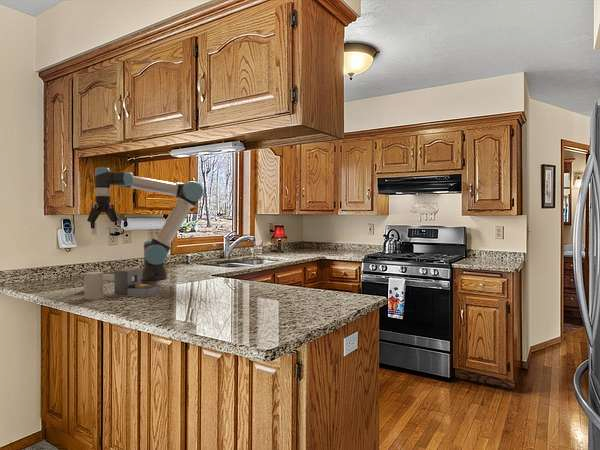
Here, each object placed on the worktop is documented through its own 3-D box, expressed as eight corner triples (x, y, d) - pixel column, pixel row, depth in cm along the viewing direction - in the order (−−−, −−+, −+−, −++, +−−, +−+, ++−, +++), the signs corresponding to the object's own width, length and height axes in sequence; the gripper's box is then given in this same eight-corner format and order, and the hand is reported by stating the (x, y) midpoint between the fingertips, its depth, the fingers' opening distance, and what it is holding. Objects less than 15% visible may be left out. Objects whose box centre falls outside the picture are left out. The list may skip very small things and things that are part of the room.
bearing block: (128, 290, 220) (128, 267, 220) (141, 291, 218) (141, 268, 217) (114, 294, 211) (114, 270, 210) (127, 295, 208) (127, 271, 208)
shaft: (90, 287, 224) (90, 270, 224) (136, 290, 215) (135, 273, 215) (84, 289, 220) (84, 271, 220) (130, 292, 211) (130, 274, 211)
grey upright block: (102, 298, 201) (102, 273, 201) (83, 300, 198) (83, 274, 198) (103, 295, 209) (103, 271, 208) (85, 296, 206) (85, 272, 205)
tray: (141, 291, 218) (141, 285, 218) (159, 293, 214) (159, 286, 214) (127, 295, 208) (127, 288, 208) (146, 297, 205) (146, 289, 205)
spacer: (141, 284, 215) (148, 284, 214) (141, 291, 215) (148, 292, 214) (135, 285, 210) (141, 286, 209) (135, 293, 210) (142, 294, 209)
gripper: (113, 196, 249) (114, 232, 250) (79, 195, 225) (80, 234, 226) (124, 196, 247) (124, 232, 247) (90, 194, 223) (91, 235, 224)
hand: (103, 233), depth 237 cm, fingers open, 13 cm apart
